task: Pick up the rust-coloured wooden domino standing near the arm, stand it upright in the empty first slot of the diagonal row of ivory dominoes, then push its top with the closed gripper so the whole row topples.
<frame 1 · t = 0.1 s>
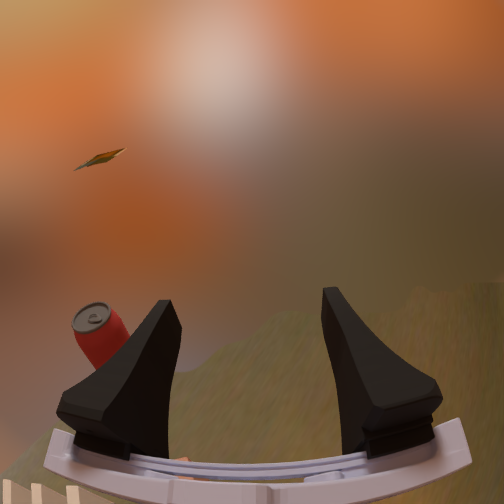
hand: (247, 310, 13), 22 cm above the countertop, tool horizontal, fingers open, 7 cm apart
beer can: (129, 378, 35), on the countertop
rust domino: (206, 493, 21), on the countertop
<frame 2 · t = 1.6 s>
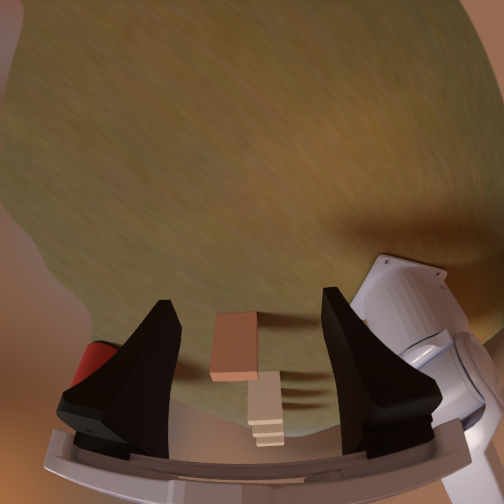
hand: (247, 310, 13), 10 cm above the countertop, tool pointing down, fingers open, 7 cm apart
ivory domino 2: (264, 374, 35), on the countertop
ivory domino 3: (267, 391, 38), on the countertop
ivory domino 4: (269, 405, 41), on the countertop
beer can: (109, 353, 34), on the countertop
rust domino: (237, 318, 29), on the countertop
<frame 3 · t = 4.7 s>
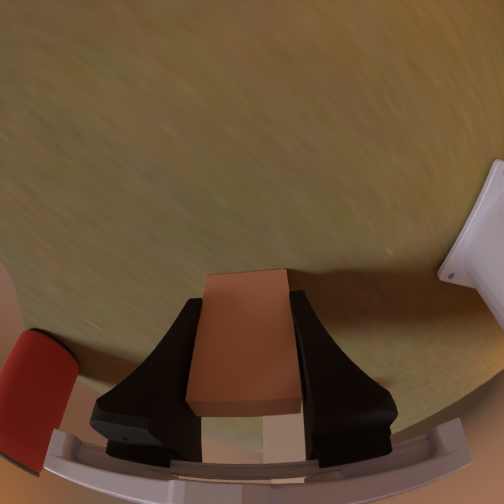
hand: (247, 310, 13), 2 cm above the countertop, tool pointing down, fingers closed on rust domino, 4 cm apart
ivory domino 2: (287, 387, 21), on the countertop
beer can: (51, 348, 20), on the countertop
rust domino: (248, 283, 15), on the countertop, touching gripper
when the fingers open (3 cm above the countertop, at t = 8.8 s): rust domino drops 1 cm, on the countertop.
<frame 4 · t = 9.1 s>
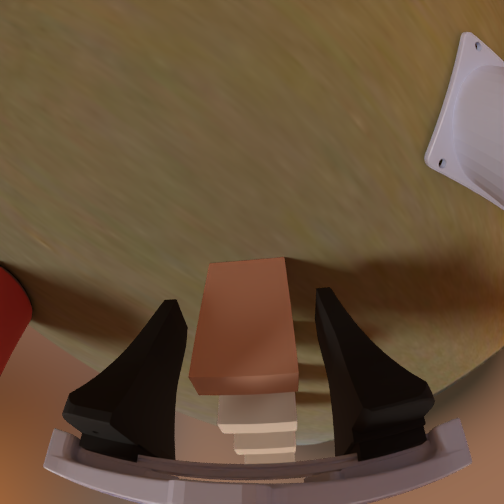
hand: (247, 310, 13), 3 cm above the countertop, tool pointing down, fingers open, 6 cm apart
ivory domino 2: (257, 330, 19), on the countertop
ivory domino 3: (264, 369, 21), on the countertop
ivory domino 4: (268, 396, 24), on the countertop
beer can: (8, 288, 18), on the countertop
rust domino: (248, 271, 16), on the countertop
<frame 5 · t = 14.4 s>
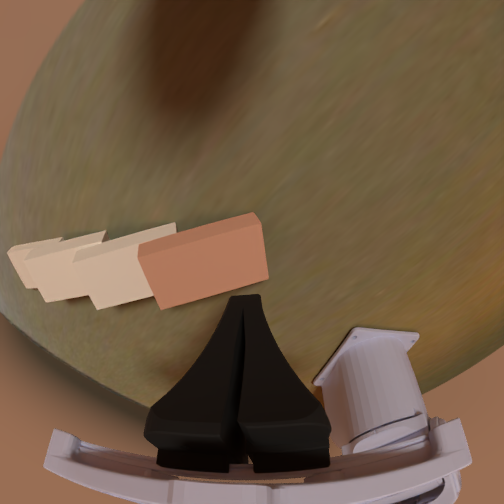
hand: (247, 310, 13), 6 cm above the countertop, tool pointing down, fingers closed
ivory domino 2: (183, 254, 18), point 1 cm above the countertop, tilted 73°, touching ivory domino 3, rust domino
ivory domino 3: (113, 260, 18), point 1 cm above the countertop, tilted 77°, touching ivory domino 2
ivory domino 4: (71, 260, 19), on the countertop, tilted 90°
rust domino: (261, 246, 17), point 1 cm above the countertop, tilted 73°, touching ivory domino 2
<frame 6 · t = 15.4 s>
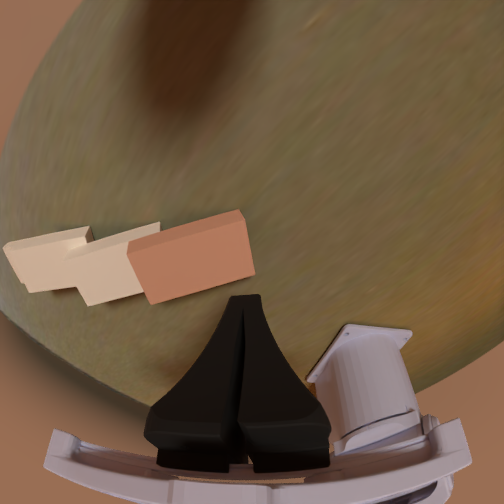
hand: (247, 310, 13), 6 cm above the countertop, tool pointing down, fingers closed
ivory domino 2: (168, 252, 18), point 1 cm above the countertop, tilted 74°, touching ivory domino 3, rust domino
ivory domino 3: (95, 255, 18), point 1 cm above the countertop, tilted 76°, touching ivory domino 2, ivory domino 4
rust domino: (247, 242, 18), point 1 cm above the countertop, tilted 74°, touching ivory domino 2
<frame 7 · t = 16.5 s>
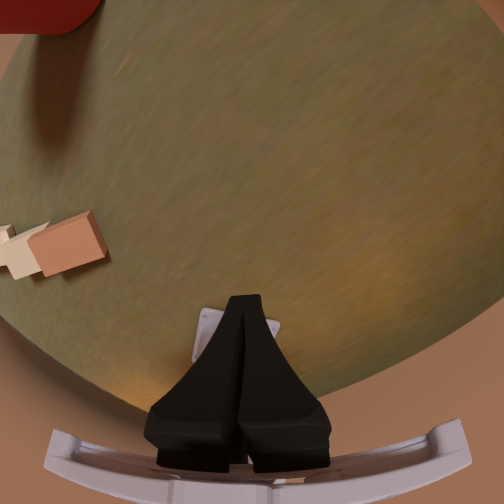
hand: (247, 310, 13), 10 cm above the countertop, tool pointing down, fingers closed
ivory domino 2: (55, 242, 23), point 1 cm above the countertop, tilted 75°, touching rust domino
ivory domino 3: (14, 243, 23), point 1 cm above the countertop, tilted 74°
beer can: (74, 0, 12), on the countertop
rust domino: (97, 233, 22), point 1 cm above the countertop, tilted 75°, touching ivory domino 2
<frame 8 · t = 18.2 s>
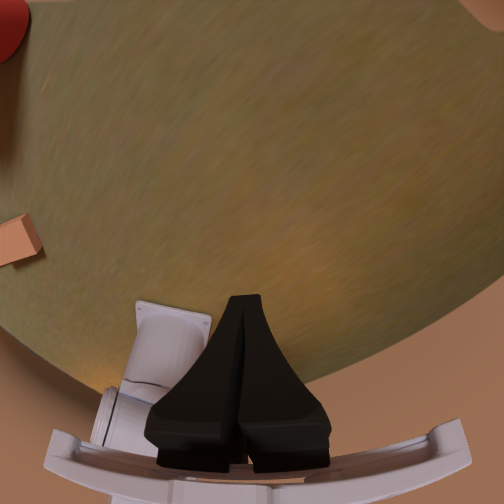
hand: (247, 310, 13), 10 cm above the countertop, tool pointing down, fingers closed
beer can: (10, 30, 11), on the countertop
rust domino: (31, 233, 22), point 1 cm above the countertop, tilted 80°, touching ivory domino 2
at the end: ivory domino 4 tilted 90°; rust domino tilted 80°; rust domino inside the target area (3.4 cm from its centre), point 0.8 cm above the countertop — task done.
